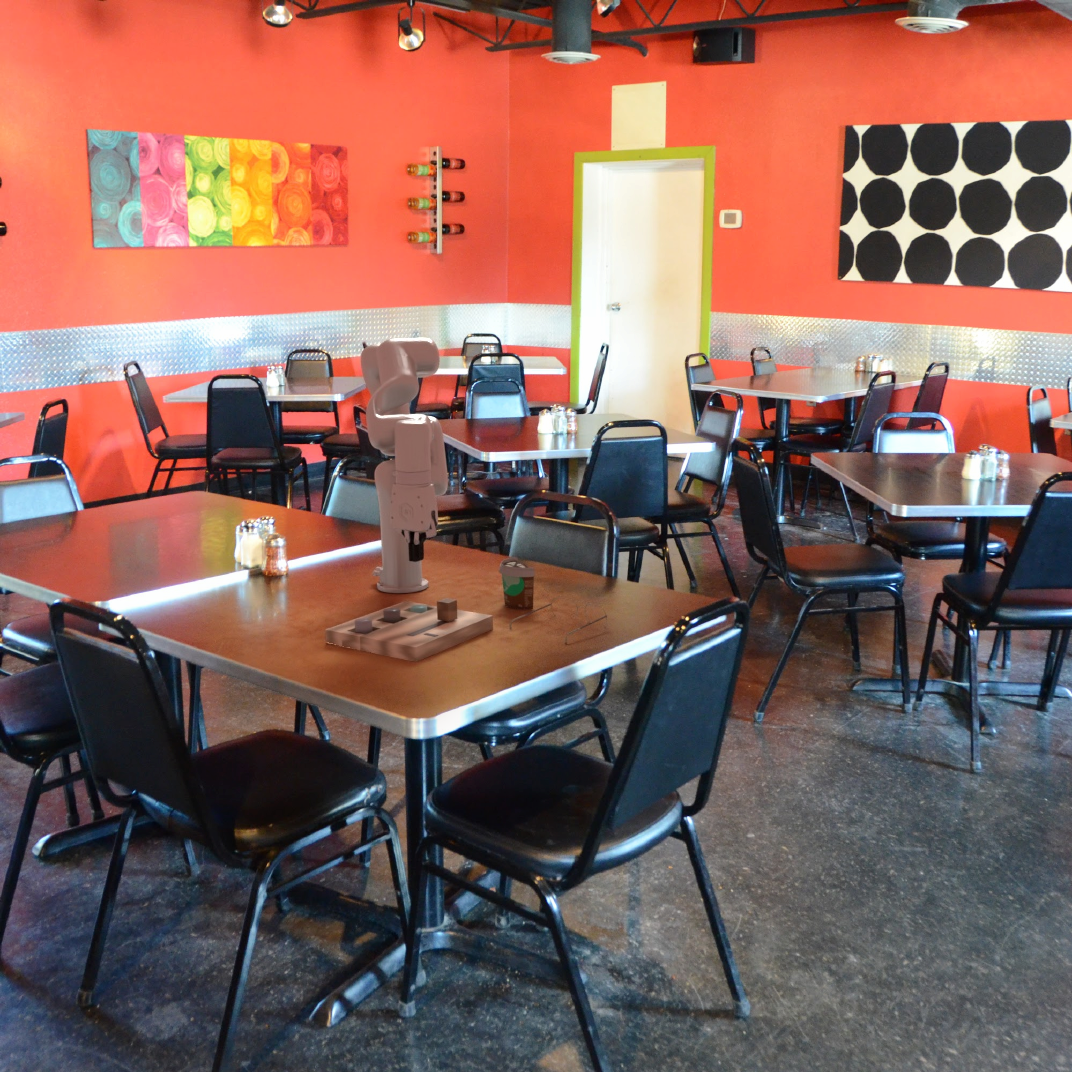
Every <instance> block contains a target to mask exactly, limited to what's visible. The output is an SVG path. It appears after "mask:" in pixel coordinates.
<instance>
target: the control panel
mask: <svg viewBox="0 0 1072 1072" xmlns="http://www.w3.org/2000/svg"><path fill="white" fill-rule="evenodd" d="M414 605H426V606H427V611H426V612H423V613H421V614H420V613H415V612H411V606H414ZM387 608H399V609H400V616H401V621H399V622H397V623H394V624H392V623H387V622H384V617H383V610H384V609H387ZM493 617H494V615H492V614H491V615H490V614H485V613H480V612H475V611H473V612H472V611H467V610H462V609H457V619H454V620H452V621H449V622H448V621H442V620H437V605H432V604H427V603H426V604H425V603H422V602H421V603H420V602H414V601H409V600H405V601H402V602H399V603H395V604H393V605H391V606H388V607H385V608H381V609H380V610H377V611H374V612H370V613H368V614H365V615H362V616H360V617H357V618H354V619H350V620H348V621H345V622H343V623H340V624H337V625H335V626H332V627H328V628H325V643H326V642H329V643H333V644H336V645H340V646H339V647H341V646H344V647H343V648H346V647H350V648H349V649H351V648H353V649H352V650H355V649H357V650H356V651H360V650H362V651H361V652H365V651H366V652H367V653H370V652H371V653H370V654H377V655H381V656H386V657H391V658H395V659H400V660H406V661H411V662H415V663H417V662H419V661H422V660H423V659H426V658H429V657H431V656H433V655H435V654H438V653H440V652H443V651H445V650H447V649H450V648H452V647H456V645H460V644H461V643H464V642H466V641H468V640H471V639H474V638H475V637H477V636H480V635H483V634H485V633H487V632H489V631H492V630H493V629H494V618H493ZM359 618H370V619H372V628H373V632H370V633H367V634H360V633H355V620H356V619H359ZM336 645H335V646H336ZM366 652H365V653H366Z"/></svg>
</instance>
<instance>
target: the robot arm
mask: <svg viewBox="0 0 1072 1072" xmlns="http://www.w3.org/2000/svg"><path fill="white" fill-rule="evenodd" d="M439 367H440V352H439V348H438V346H437V344H436V343H435V341H434V340H433V339H431V338H430V337H429V338H428V337H402V338H401V337H400V338H398V337H397V338H396V337H395V338H390V339H386V340H384V341H382V342H380V343H375V344H370V345H368V346H366V347H365V348H363V350H362V351H361V353H360V368H361V373H362V377H363V381H364V382H365V386H366V388H367V390H368V391H369V394H370V399H369V400H368V403H367V406H366V410H365V421H366V429H367V435H368V440H369V442H370V444H371V446H372V447H373V448H374V449H376V450H379V451H380V452H381V454H383V455H384V456H385V455H386V456H389V457H394V459H389V460H385V461H382V462H380V463H379V464H378V465H377V466H376V468H375V469H374V484H375V489H376V494H377V498H378V506H379V519H380V522H379V523H380V539H381V541H380V543H381V561H382V565H381V566H376V567H375V568H374V570H373V571H372V573H371V574H372V576H373V577H378V578H379V581H378V582H377V583H376V589H377V590H378V591H380V592H384V593H391V594H409V593H414V592H415V593H416V592H420V591H423V590H426V589H428V587H429V581H428V579H425V578H423V571H422V570H423V569H422V560H424V559H425V547H424V544H425V543H426V542H427V539H428V538H433V537H436V536H437V528H438V525H439V514H438V513H439V512H438V511H439V510H438V503H437V497H442V496H443V495H445V494H446V492H447V490H448V486H449V485H448V484H449V477H448V476H449V475H448V468H447V467H448V465H447V458H446V450H445V449H446V448H445V439H444V432H443V427H442V424H441V423H440V421H439V419H438V418H436V417H434V416H431V415H427V414H423V413H411V411H410V402H412V401H413V400H414V399H415V398H416V397H417V396H418V393H419V391H420V384H419V379H418V378H429V377H431V376H434V375H435V374H436V373H437V372H438V370H439Z"/></svg>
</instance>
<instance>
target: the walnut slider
mask: <svg viewBox="0 0 1072 1072" xmlns="http://www.w3.org/2000/svg"><path fill="white" fill-rule="evenodd" d="M436 606H437V620H442V621H448V622H449V621H452V620H454V619H457V610H458V600H457V599H453V598H447V597H444V598H442V599H440V600H437V601H436Z"/></svg>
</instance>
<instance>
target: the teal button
mask: <svg viewBox="0 0 1072 1072" xmlns="http://www.w3.org/2000/svg"><path fill="white" fill-rule="evenodd" d="M426 611H427V606H426V605H414V606H411V612H415V613H420V614H421V613H423V612H426Z"/></svg>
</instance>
